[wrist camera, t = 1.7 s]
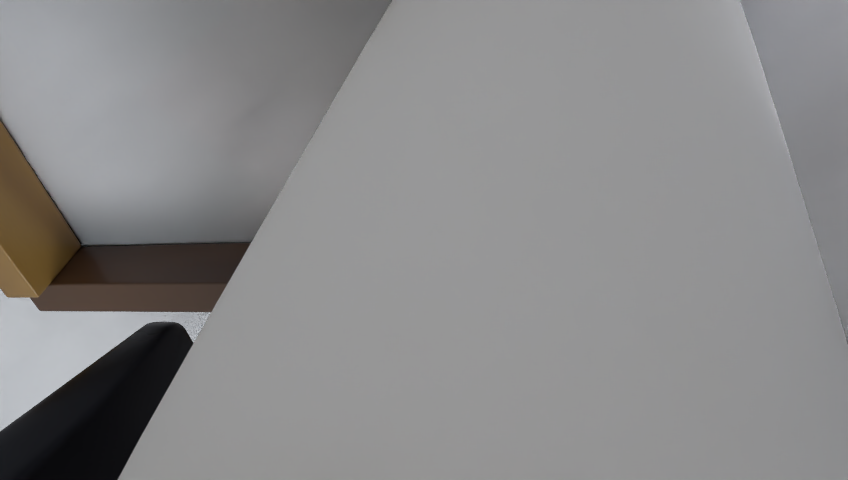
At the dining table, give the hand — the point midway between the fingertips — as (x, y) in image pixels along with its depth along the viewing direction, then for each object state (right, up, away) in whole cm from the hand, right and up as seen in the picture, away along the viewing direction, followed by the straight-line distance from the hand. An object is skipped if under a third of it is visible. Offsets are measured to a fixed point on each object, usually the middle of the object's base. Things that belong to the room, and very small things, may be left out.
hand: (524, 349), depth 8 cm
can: (+1, +5, +5) cm, 7 cm away
